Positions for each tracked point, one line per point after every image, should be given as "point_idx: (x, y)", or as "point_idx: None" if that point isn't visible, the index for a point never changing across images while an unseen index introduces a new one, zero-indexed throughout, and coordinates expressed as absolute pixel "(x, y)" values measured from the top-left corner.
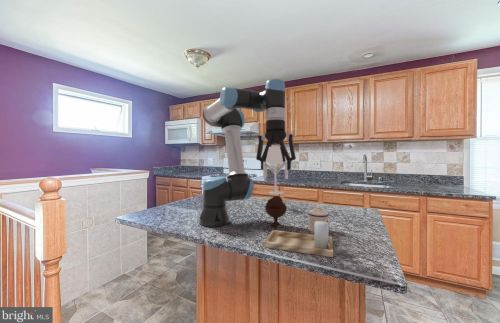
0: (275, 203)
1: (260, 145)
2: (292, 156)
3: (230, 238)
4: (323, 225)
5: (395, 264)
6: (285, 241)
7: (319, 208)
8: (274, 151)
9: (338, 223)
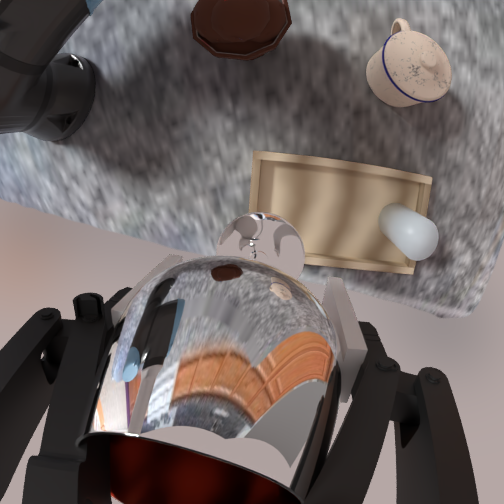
0: (239, 41)
1: (12, 460)
2: (406, 435)
3: (141, 199)
4: (420, 259)
5: (498, 254)
6: (301, 203)
7: (432, 68)
8: (217, 497)
9: (445, 5)
